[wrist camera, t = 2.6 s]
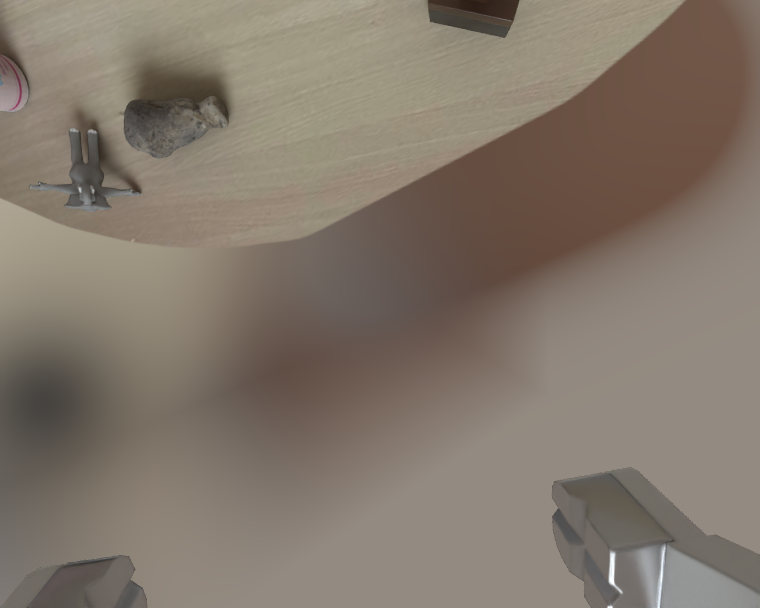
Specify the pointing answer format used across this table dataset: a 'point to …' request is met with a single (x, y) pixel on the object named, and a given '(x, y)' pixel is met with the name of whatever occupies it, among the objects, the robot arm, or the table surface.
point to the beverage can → (12, 86)
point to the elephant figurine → (86, 177)
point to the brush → (475, 14)
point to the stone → (171, 123)
